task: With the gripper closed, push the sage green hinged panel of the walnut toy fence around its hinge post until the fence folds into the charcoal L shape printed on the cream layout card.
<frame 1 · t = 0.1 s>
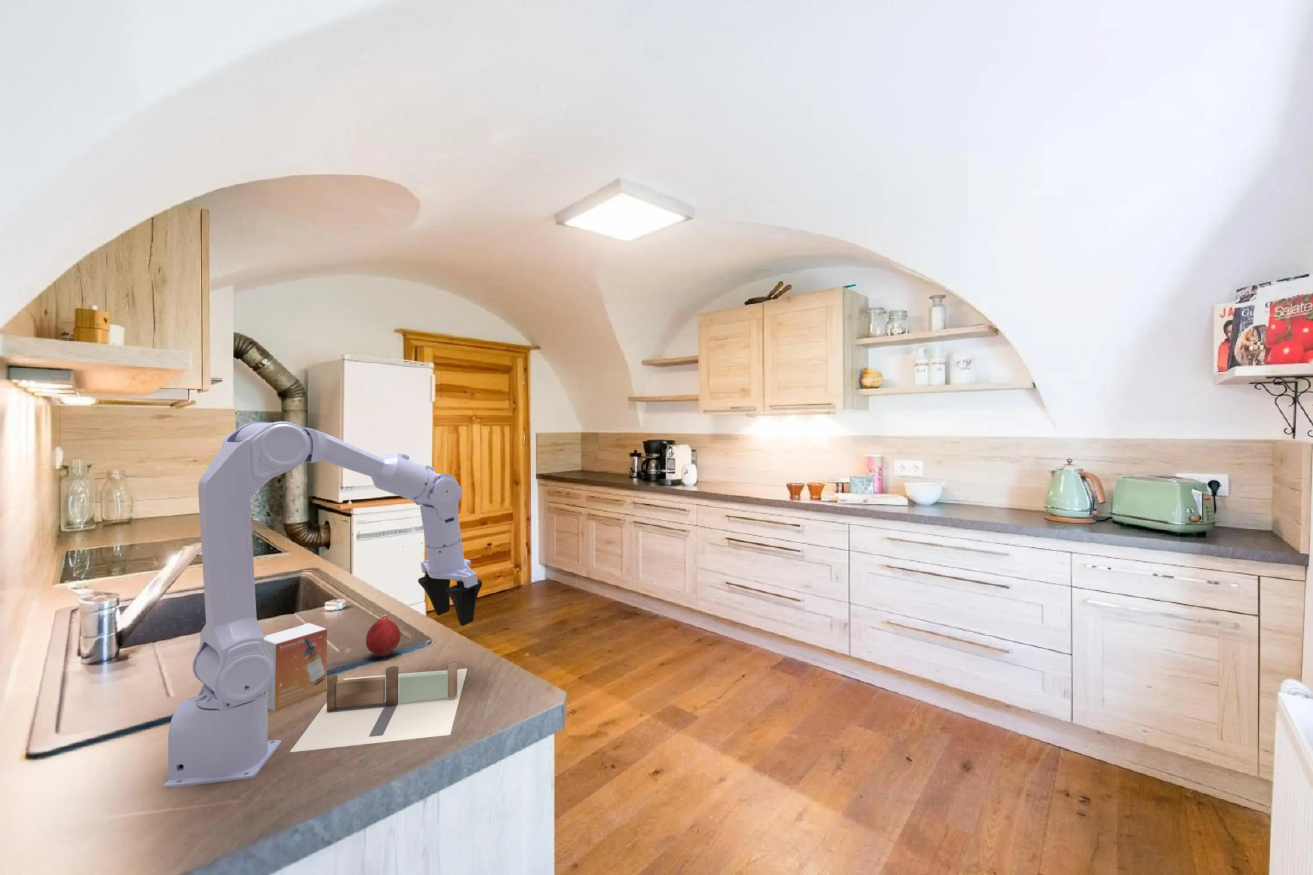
hand: (454, 617, 95), 10 cm above the worktop, tool pointing down, fingers open, 7 cm apart
layout card: (391, 705, 85), on the worktop
onion: (383, 658, 104), on the worktop
small box: (292, 699, 88), on the worktop
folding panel: (428, 681, 87), point 3 cm above the worktop, hinge at 0.0°
fixed fence: (391, 703, 85), resting on layout card
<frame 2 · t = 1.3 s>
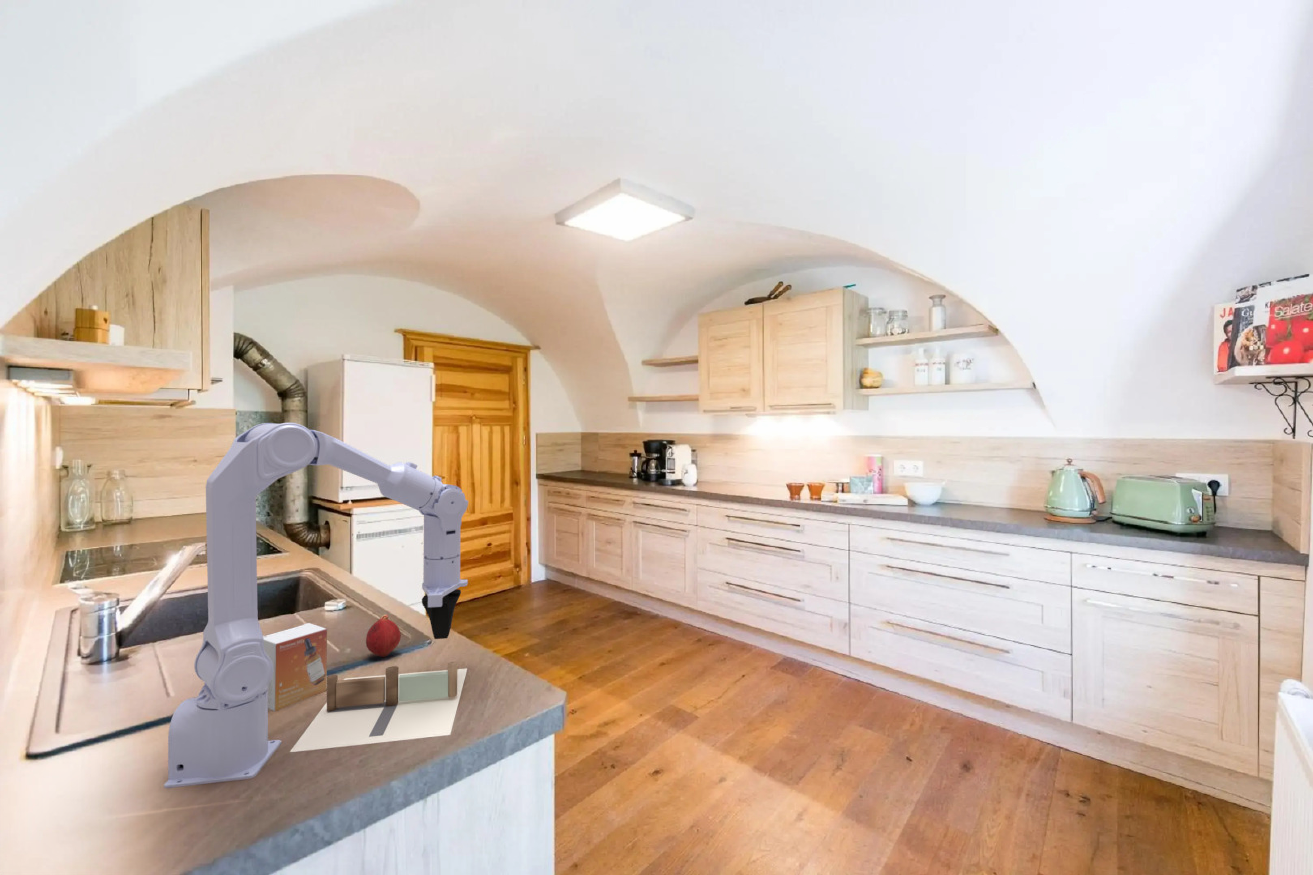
hand: (441, 637, 92), 8 cm above the worktop, tool pointing down, fingers closed
nothing on the worktop moved.
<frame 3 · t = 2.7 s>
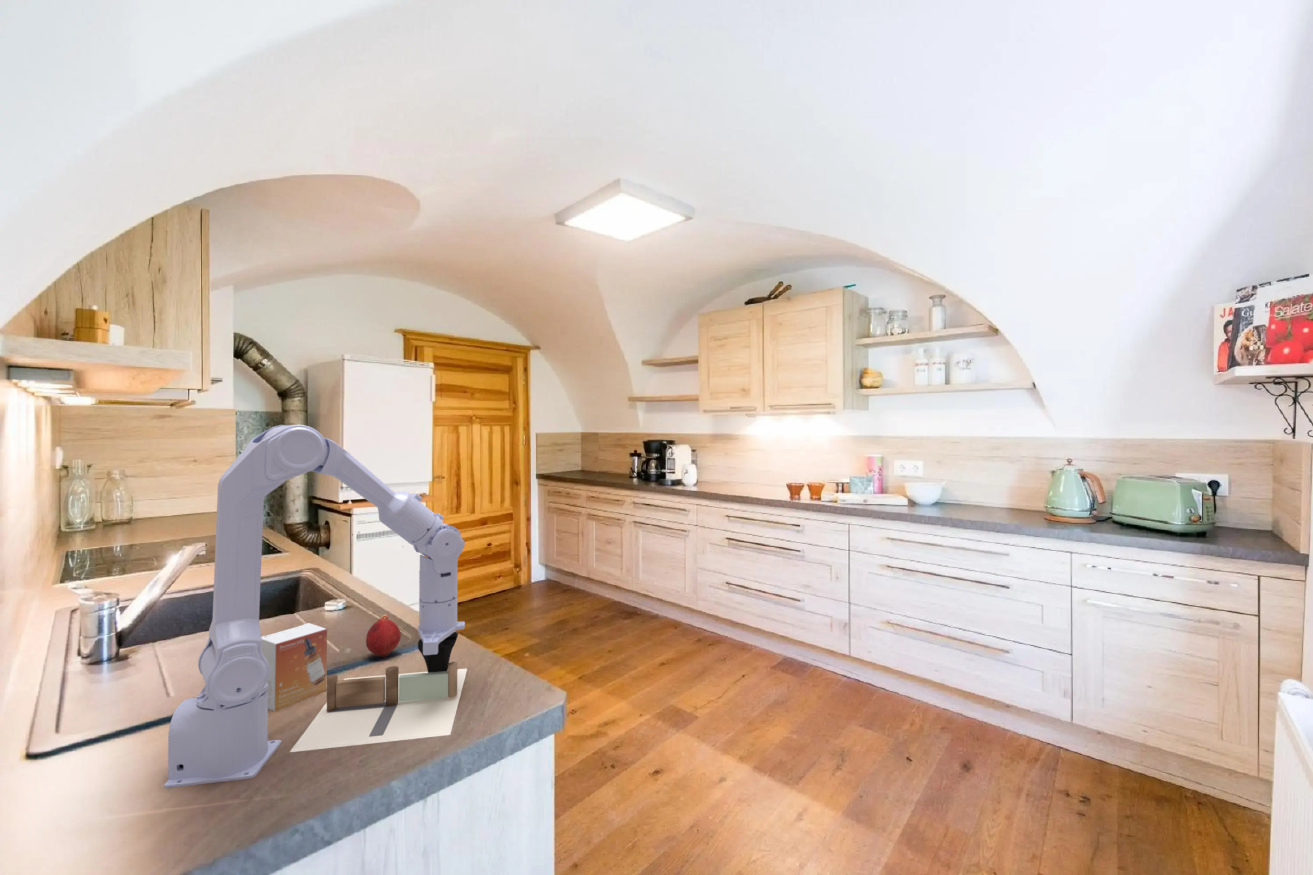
hand: (438, 681, 88), 2 cm above the worktop, tool pointing down, fingers closed
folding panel: (428, 681, 87), point 3 cm above the worktop, hinge at 0.1°, touching gripper
everything else where it was.
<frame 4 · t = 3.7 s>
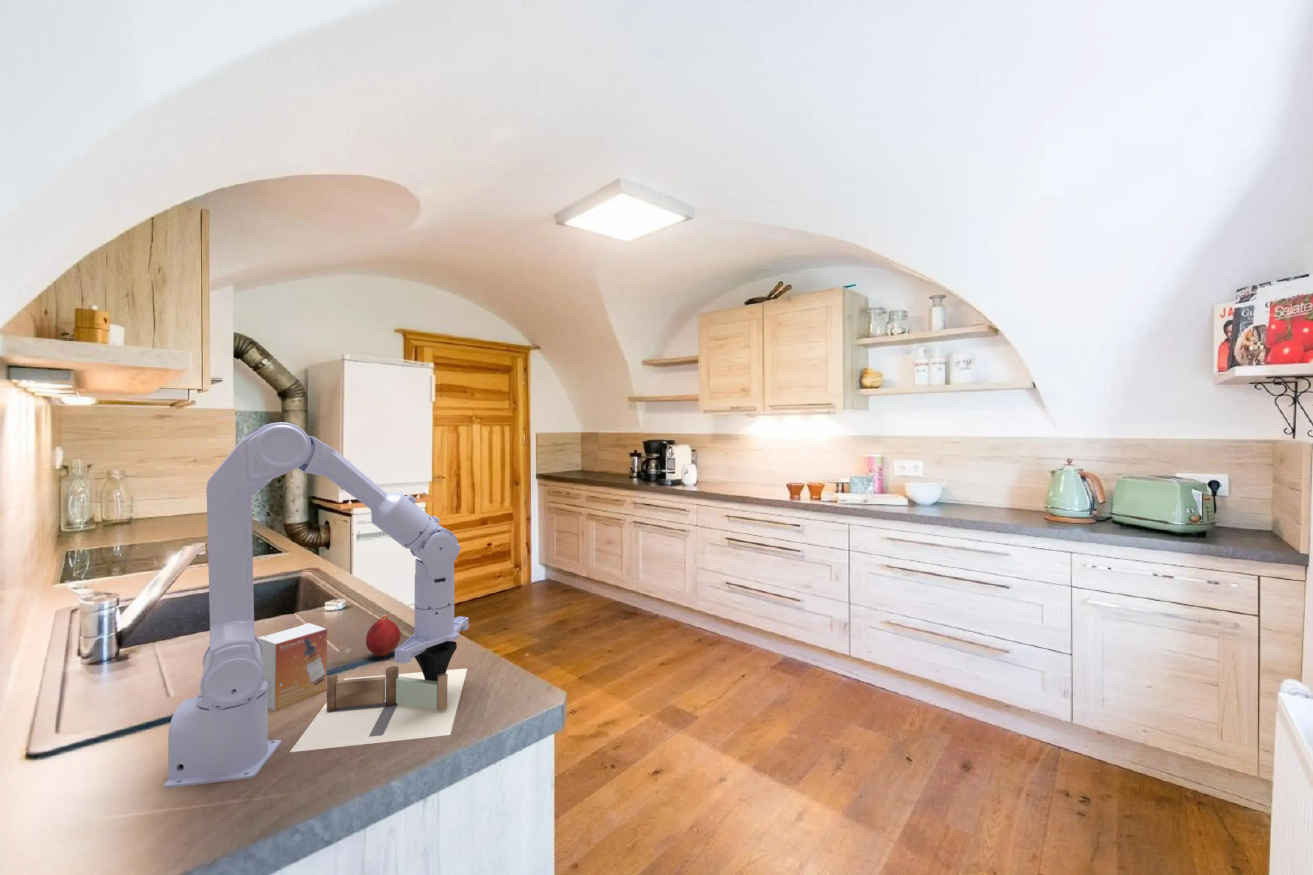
hand: (434, 690, 85), 2 cm above the worktop, tool pointing down, fingers closed
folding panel: (422, 688, 84), point 3 cm above the worktop, hinge at 26.7°, touching gripper
everything else where it was.
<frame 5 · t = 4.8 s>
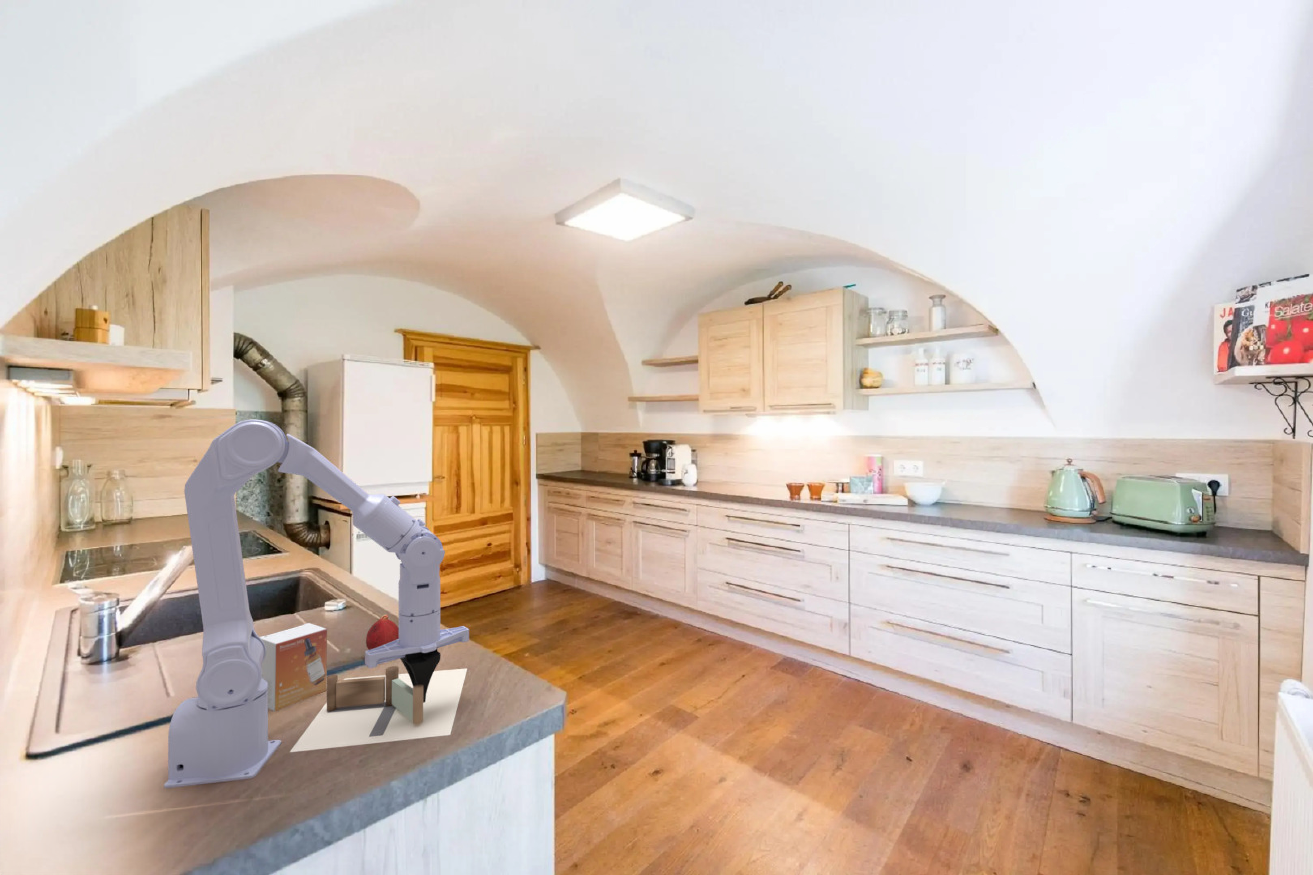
hand: (419, 700, 82), 3 cm above the worktop, tool pointing down, fingers closed
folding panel: (407, 695, 82), point 3 cm above the worktop, hinge at 55.0°, touching gripper
everything else where it was.
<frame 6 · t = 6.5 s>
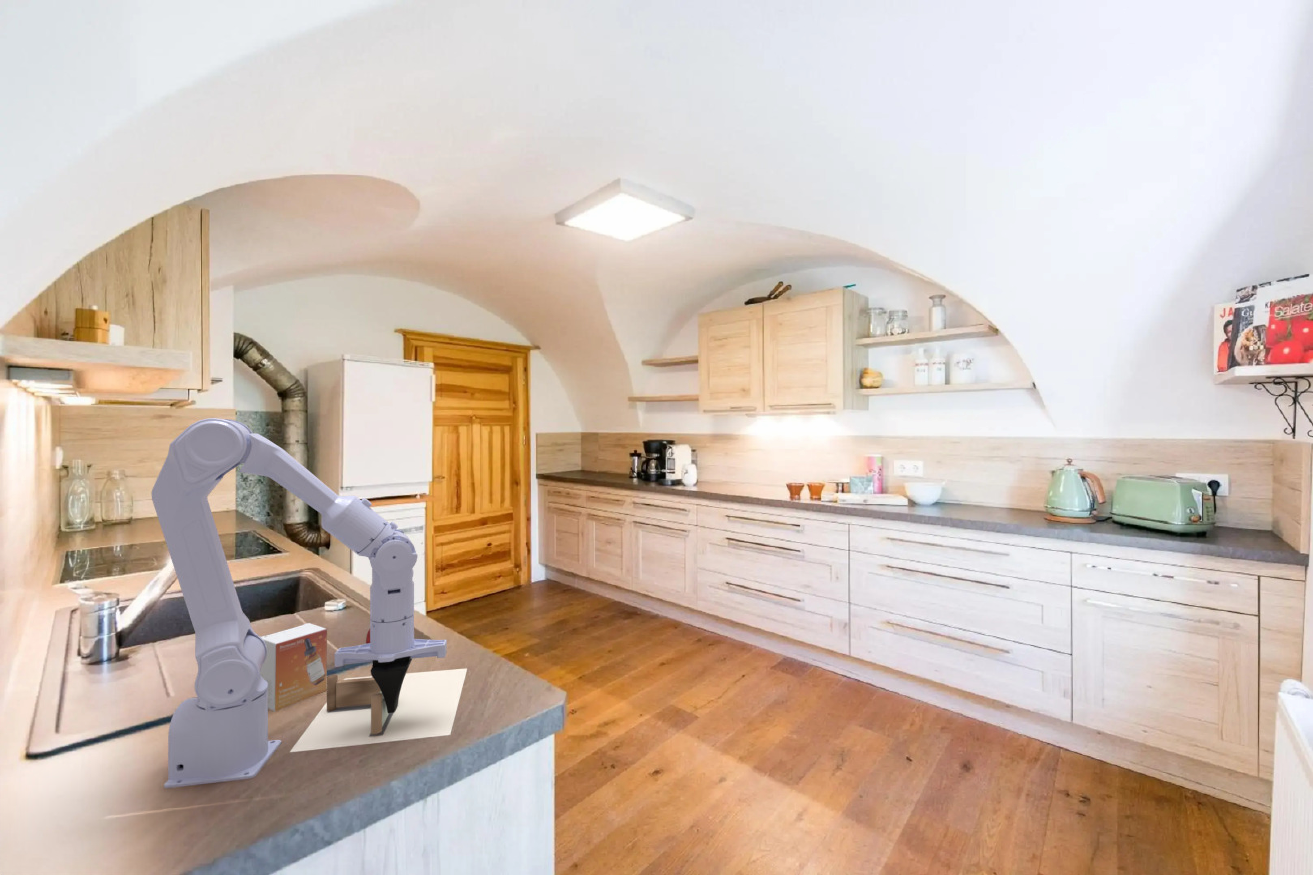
hand: (392, 709, 79), 2 cm above the worktop, tool pointing down, fingers closed
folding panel: (383, 701, 80), point 3 cm above the worktop, hinge at 90.0°, touching gripper
everything else where it was.
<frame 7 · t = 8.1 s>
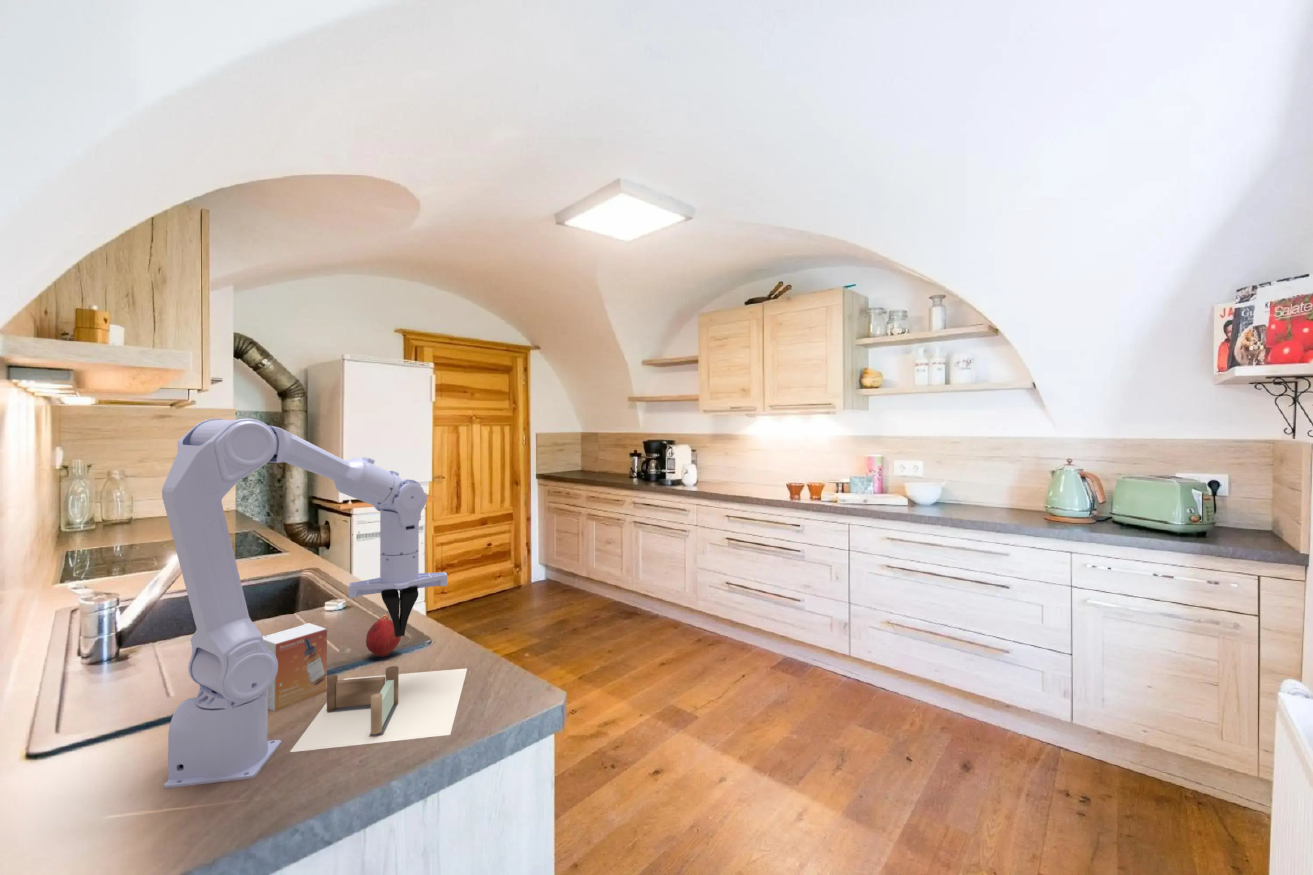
hand: (399, 634, 90), 9 cm above the worktop, tool pointing down, fingers closed
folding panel: (383, 701, 80), point 3 cm above the worktop, hinge at 90.1°
everything else where it was.
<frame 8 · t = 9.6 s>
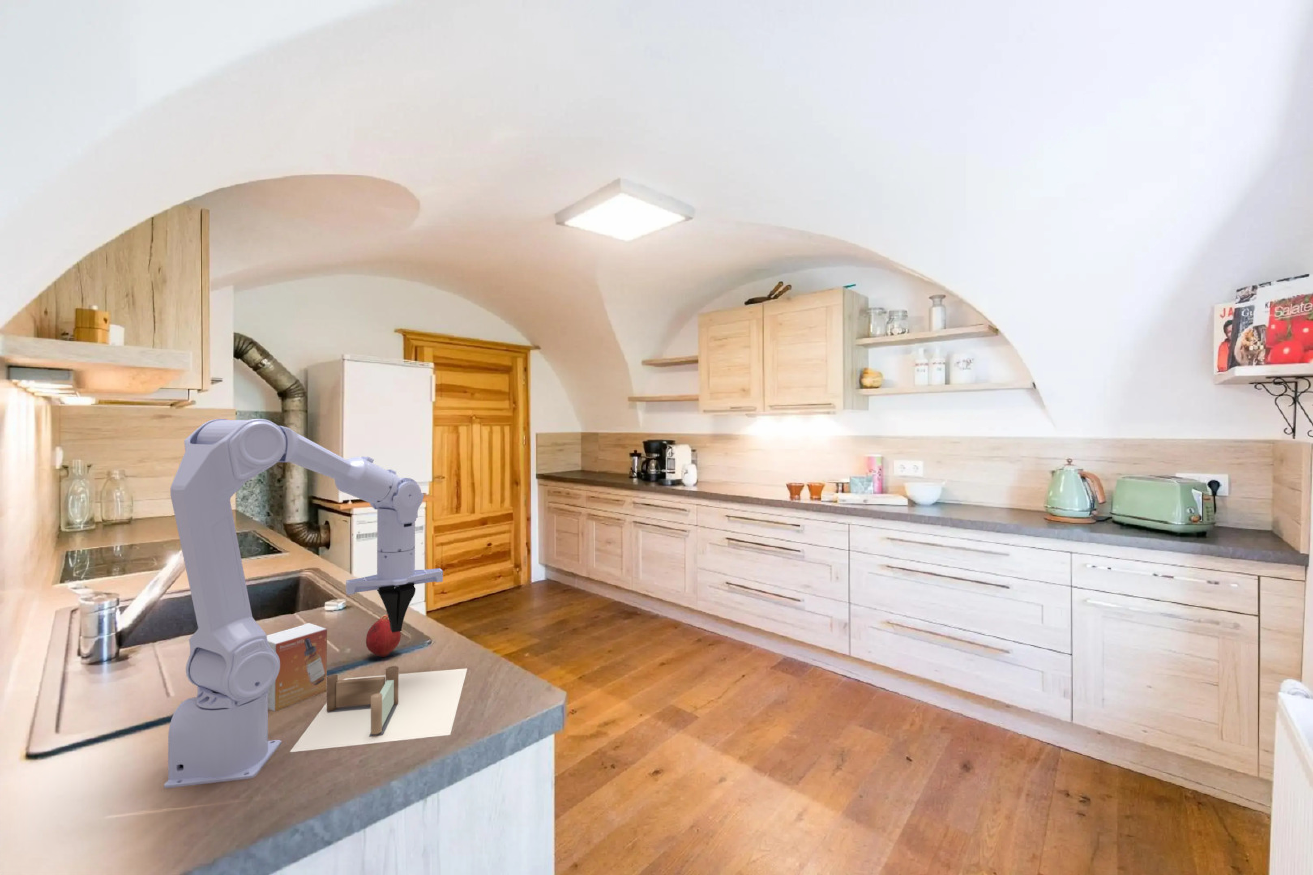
hand: (395, 630, 92), 9 cm above the worktop, tool pointing down, fingers closed
nothing on the worktop moved.
at the end: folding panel at +90° (first picture: +0°) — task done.
